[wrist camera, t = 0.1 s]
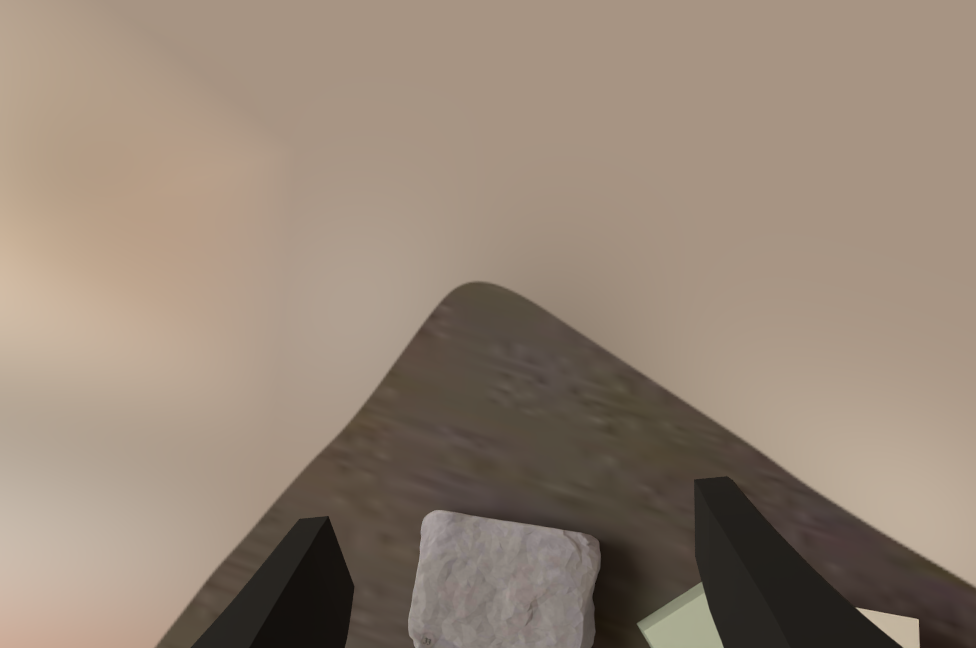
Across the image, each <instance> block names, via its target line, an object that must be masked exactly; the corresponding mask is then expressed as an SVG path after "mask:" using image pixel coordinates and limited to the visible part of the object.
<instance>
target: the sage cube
mask: <svg viewBox="0 0 976 648" xmlns="http://www.w3.org/2000/svg"><path fill="white" fill-rule="evenodd" d="M637 625H638V627H639V628H640V630H641V632H642V633H643V635H644V637H645V638H646V640H647V642H648V643H649V645H650V647H651V648H724V647H723V644H722V642H721V639H720V637H719V634H718V631H717V629H716V626H715V623H714V621H713V618H712V615H711V613H710V610H709V607H708V603H707V599H706V595H705V592H704V588H703V584H702V582H701V583H700V584H698V585H696V586H695V587H693V588H692V589H690V590H688V591H687V592H685V593H684V594H682V595H681V596H679V597H677V598H676V599H674V600H673V601H671V602H670V603H668V604H666V605H665V606H663V607H662V608H660V609H658V610H657V611H655V612H654V613H652V614H651V615H649V616H647V617H646V618H644V619H643V620H641V621H640V622H638V623H637Z"/></svg>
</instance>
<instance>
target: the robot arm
mask: <svg viewBox="0 0 976 648" xmlns="http://www.w3.org/2000/svg"><path fill="white" fill-rule="evenodd" d="M694 496H695V557H696V561H697V565H698V569H699V573H700V577H701V580H702V584H703V588H704V592H705V595H706V599H707V603H708V607H709V610H710V613H711V615H712V618H713V621H714V623H715V626H716V629H717V631H718V634H719V637H720V639H721V642H722V644H723V647H724V648H903V647H902V646H901V645H900V644H898V643H897V642H896V641H895V640H893V639H892V638H891V637H890V636H888V635H887V634H886V633H885V632H883V631H882V630H881V629H880V628H879V627H877V626H876V625H875V624H874V623H873V622H871V621H870V620H869V619H868V618H867V617H866V616H864V615H863V614H862V613H861V612H860V611H859V610H858V609H856V608H855V607H854V606H853V605H852V604H851V603H850V602H849V601H848V600H846V599H845V598H844V597H843V596H842V595H841V594H840V593H839V592H838V591H837V590H836V589H834V588H833V587H832V586H831V585H830V584H829V583H828V582H827V581H826V580H825V579H824V578H823V577H822V576H821V575H820V574H819V573H817V572H816V571H815V570H814V569H813V568H812V567H811V566H810V565H809V564H808V563H807V562H806V561H805V560H804V559H803V558H802V557H801V556H800V555H799V554H798V553H797V552H796V550H795V549H794V548H793V547H792V546H791V545H790V544H789V543H788V542H787V541H786V540H785V539H784V538H783V537H782V536H781V535H780V534H779V533H778V532H777V531H776V530H775V529H774V527H773V526H772V525H771V524H770V523H769V522H768V521H767V520H766V519H765V518H764V516H763V515H762V514H761V513H760V512H759V511H758V510H757V509H756V507H755V506H754V505H753V504H752V503H751V502H750V500H749V499H748V498H747V497H746V496H745V495H744V493H743V492H742V491H741V490H740V489H739V487H738V486H737V485H736V484H735V482H734V481H733V480H731V479H730V478H729V477H727V476H726V477H716V478H706V479H696V480H694ZM353 593H354V584H353V582H352V579H351V576H350V573H349V571H348V568H347V565H346V563H345V560H344V557H343V554H342V552H341V549H340V546H339V544H338V541H337V538H336V535H335V533H334V530H333V527H332V525H331V522H330V519H329V516H325V517H315V518H305V519H299V520H298V521H297V523H296V524H295V525H294V526H293V527H292V529H291V530H290V531H289V532H288V534H287V535H286V536H285V537H284V538H283V540H282V541H281V542H280V543H279V545H278V546H277V547H276V548H275V550H274V551H273V552H272V553H271V555H270V556H269V557H268V558H267V559H266V561H265V562H264V563H263V564H262V566H261V567H260V568H259V569H258V571H257V572H256V573H255V574H254V576H253V577H252V578H251V579H250V580H249V582H248V583H247V584H246V585H245V586H244V588H243V589H242V590H241V591H240V592H239V594H238V595H237V596H236V597H235V598H234V600H233V601H232V602H231V603H230V604H229V606H228V607H227V608H226V609H225V610H224V611H223V613H222V614H221V615H220V616H219V617H218V618H217V619H216V620H215V621H214V623H213V624H212V625H211V626H210V627H209V628H208V629H207V630H206V631H205V633H204V634H203V635H202V636H201V637H200V638H199V639H198V640H197V641H196V642H195V644H194V645H193V646H192V647H191V648H345V644H346V640H347V635H348V629H349V622H350V616H351V609H352V601H353Z"/></svg>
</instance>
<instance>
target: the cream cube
mask: <svg viewBox="0 0 976 648" xmlns="http://www.w3.org/2000/svg"><path fill="white" fill-rule="evenodd" d="M856 609H858V610H859V611H860V612H861V613H862V614H863V615H864V616H866V617H867V618H868V619H869V620H870V621H871V622H873V623H874V624H875V625H876V626H877V627H879V628H880V629H881V630H882V631H883V632H885V633H886V634H887V635H888V636H890V637H891V638H892V639H893V640H895V641H896V642H897V643H898V644H900V645H901V646H902V647H903V648H920V644H919V619H914V618H909V617H903V616H898V615H893V614H887V613H882V612H877V611H871V610H866V609H861V608H856Z"/></svg>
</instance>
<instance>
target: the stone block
mask: <svg viewBox="0 0 976 648" xmlns="http://www.w3.org/2000/svg"><path fill="white" fill-rule="evenodd" d="M600 562H601V553H600V547H599V541H598V540H597V539H596V538H595V537H593V536H592V535H590V534H584V533H580V532H573V531H567V530H561V529H556V528H549V527H544V526H538V525H531V524H524V523H517V522H510V521H502V520H496V519H490V518H485V517H478V516H471V515H466V514H462V513H457V512H449V511H442V510H435V511H433V512H431V513H429V514H428V515H427V516H425V518H424V519H423V522H422V527H421V543H420V558H419V564H418V570H417V575H416V581H415V587H414V590H413V597H412V605H411V609H410V614H409V618H408V624H409V625H408V630H409V635H410V637H411V638H412V639H413V640H414V646H415V648H591V647H592V645H593V643H594V636H595V633H596V630H595V621H594V611H595V607H594V603H593V599H592V596H593V591H594V587H595V582H596V580H597V576H598V573H599V570H600Z"/></svg>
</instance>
